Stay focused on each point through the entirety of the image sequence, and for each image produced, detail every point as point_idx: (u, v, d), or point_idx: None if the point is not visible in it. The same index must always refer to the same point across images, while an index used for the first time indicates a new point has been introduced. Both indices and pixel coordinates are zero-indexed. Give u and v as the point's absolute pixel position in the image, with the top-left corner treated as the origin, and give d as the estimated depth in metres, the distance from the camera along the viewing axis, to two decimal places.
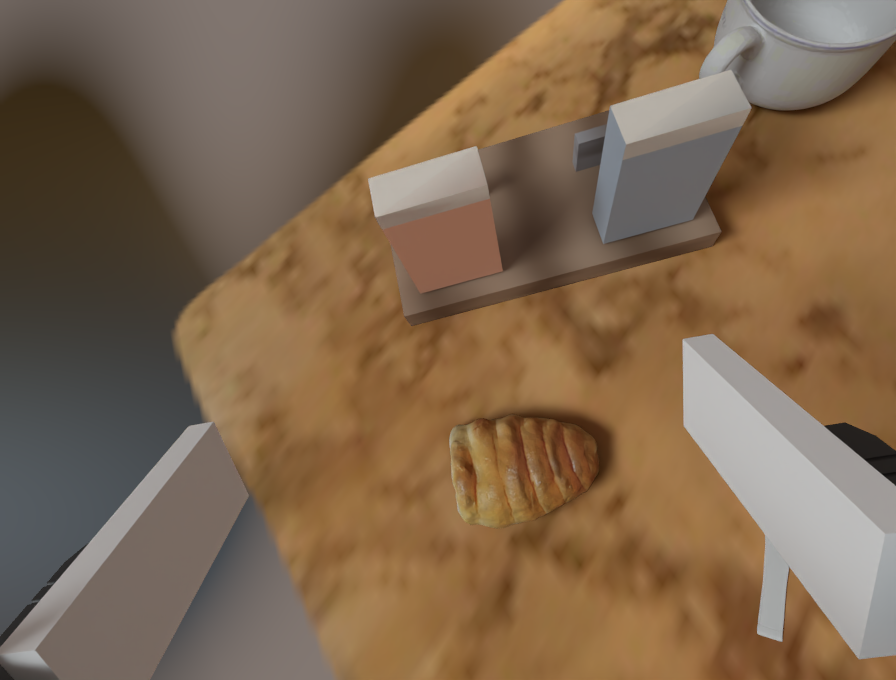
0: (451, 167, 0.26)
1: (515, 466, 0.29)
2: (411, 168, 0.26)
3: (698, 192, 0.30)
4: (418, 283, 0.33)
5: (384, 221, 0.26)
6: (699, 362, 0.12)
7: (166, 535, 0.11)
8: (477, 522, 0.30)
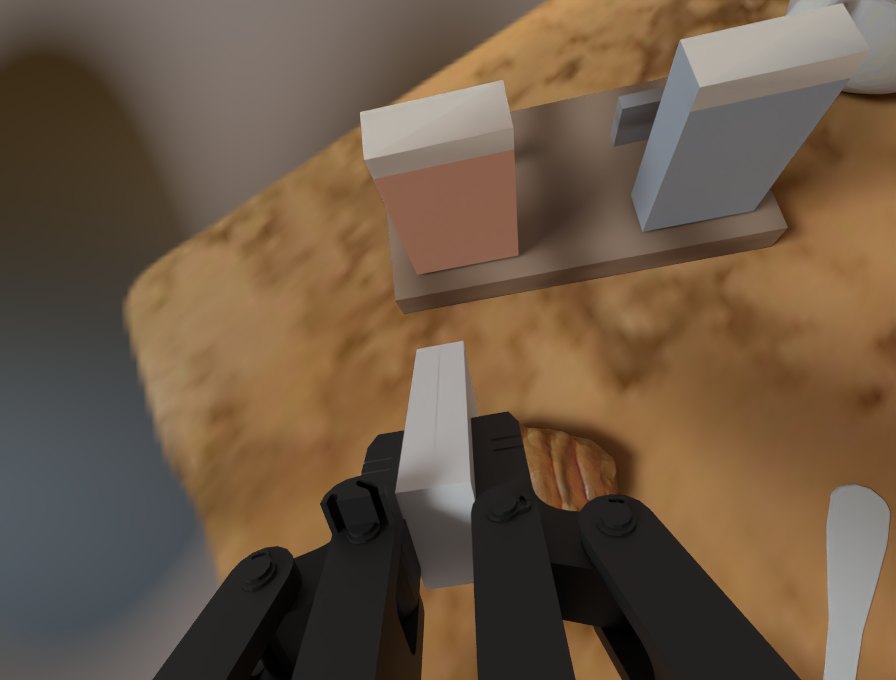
0: (468, 104, 0.20)
1: None
2: (416, 102, 0.20)
3: (770, 172, 0.24)
4: (416, 260, 0.27)
5: (376, 167, 0.20)
6: (440, 363, 0.15)
7: None
8: None
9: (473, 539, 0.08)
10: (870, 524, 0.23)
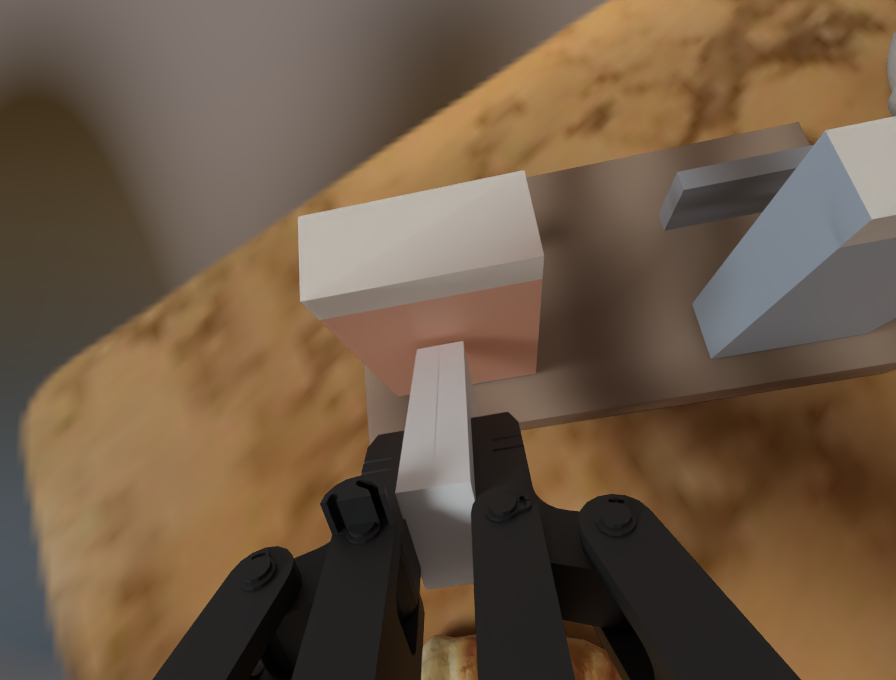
0: (469, 210, 0.12)
1: None
2: (386, 204, 0.13)
3: None
4: (395, 386, 0.20)
5: (321, 308, 0.13)
6: (440, 363, 0.15)
7: None
8: None
9: (473, 539, 0.08)
10: None
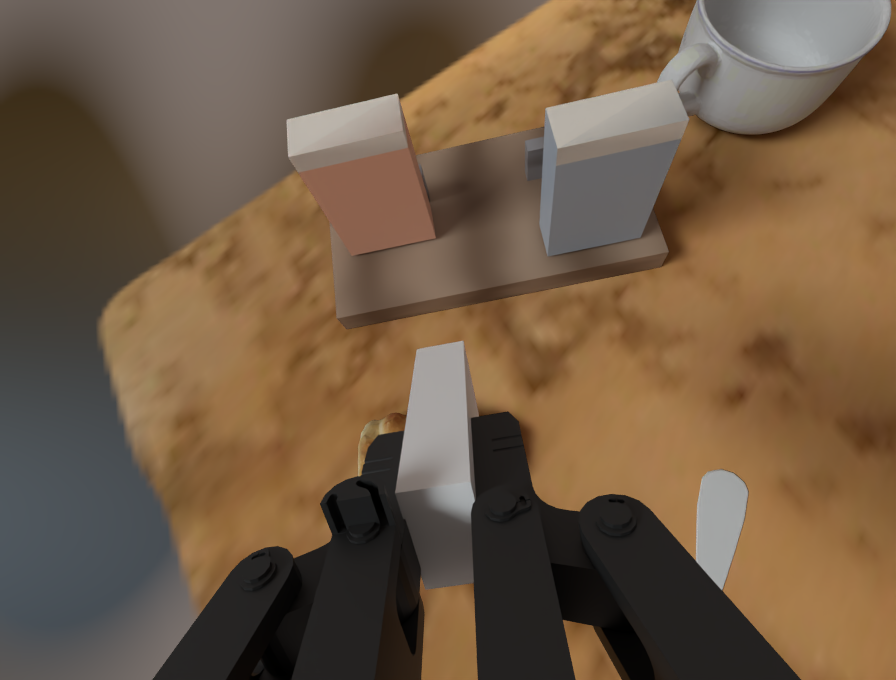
0: (370, 112, 0.25)
1: None
2: (330, 111, 0.26)
3: (643, 208, 0.29)
4: (348, 243, 0.33)
5: (298, 162, 0.25)
6: (440, 363, 0.15)
7: None
8: None
9: (473, 539, 0.08)
10: (731, 502, 0.28)
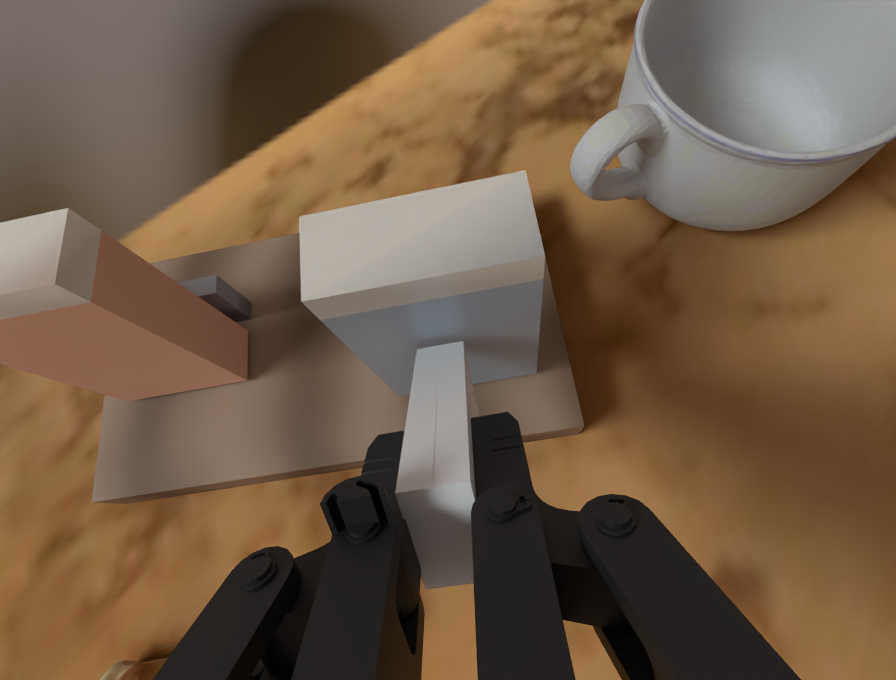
0: (14, 243, 0.14)
1: None
2: None
3: (521, 350, 0.18)
4: (106, 392, 0.22)
5: None
6: (440, 363, 0.15)
7: None
8: None
9: (473, 539, 0.08)
10: None
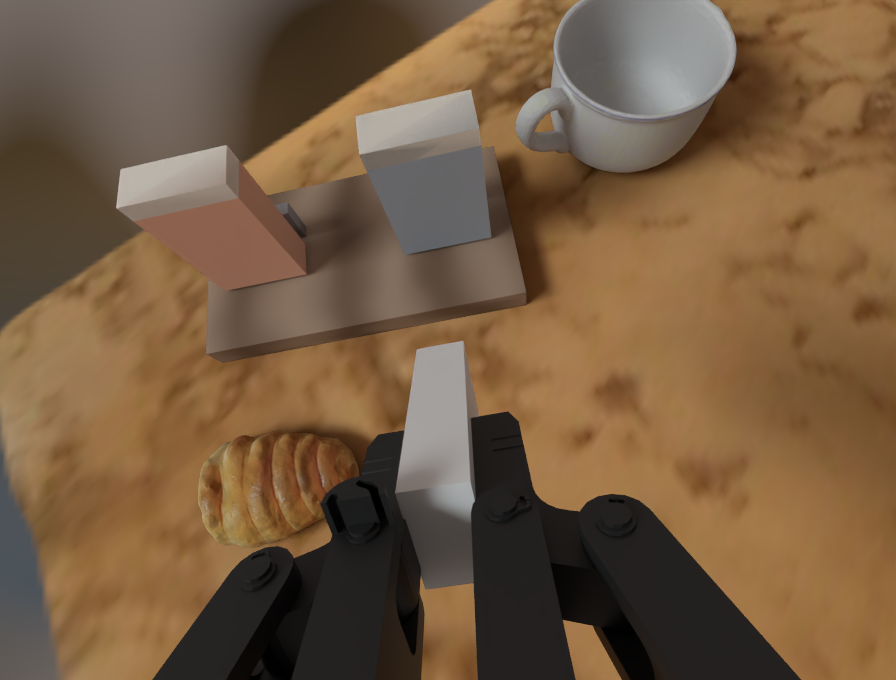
0: (198, 164, 0.26)
1: (259, 484, 0.29)
2: (162, 162, 0.26)
3: (478, 210, 0.30)
4: (216, 279, 0.33)
5: (129, 212, 0.26)
6: (440, 363, 0.15)
7: None
8: (229, 542, 0.30)
9: (473, 539, 0.08)
10: None
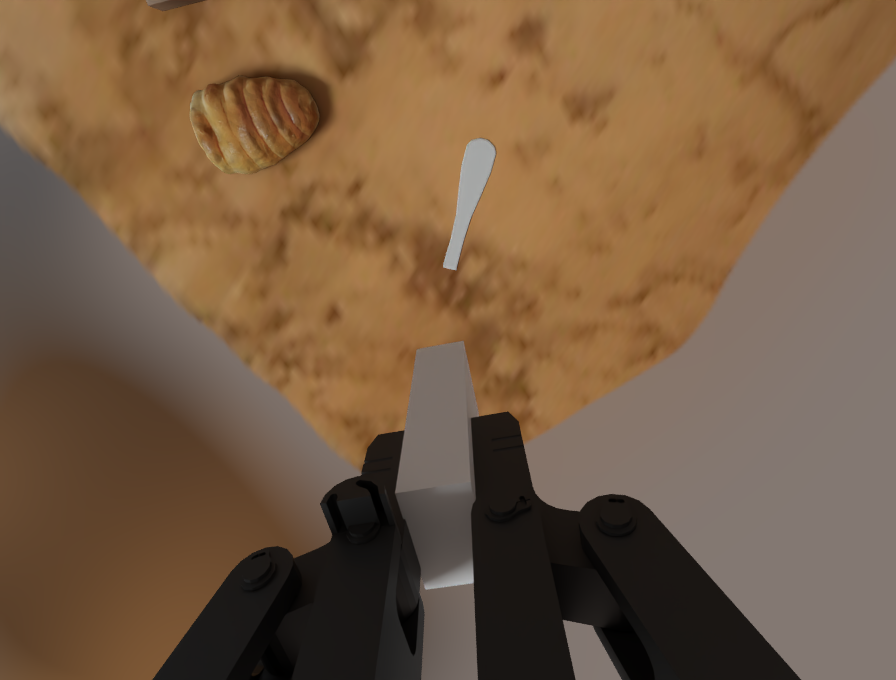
0: None
1: (243, 125, 0.37)
2: None
3: None
4: None
5: None
6: (440, 363, 0.15)
7: None
8: (233, 171, 0.40)
9: (473, 539, 0.08)
10: (484, 161, 0.41)
